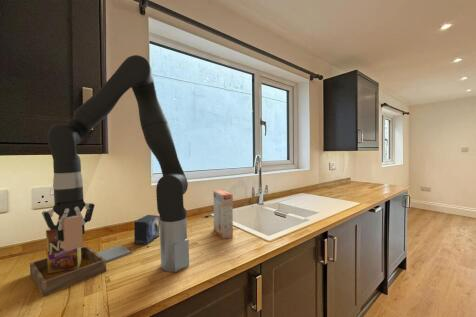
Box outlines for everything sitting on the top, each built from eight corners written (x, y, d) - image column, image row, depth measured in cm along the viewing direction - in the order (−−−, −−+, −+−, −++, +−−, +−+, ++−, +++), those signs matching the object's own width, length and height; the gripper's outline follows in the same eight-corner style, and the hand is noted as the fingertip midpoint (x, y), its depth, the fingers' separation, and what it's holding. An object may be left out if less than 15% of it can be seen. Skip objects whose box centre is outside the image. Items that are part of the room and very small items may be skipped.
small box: (146, 245, 96) (146, 222, 96) (133, 244, 97) (133, 221, 97) (160, 236, 106) (159, 215, 106) (148, 235, 108) (147, 214, 107)
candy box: (46, 274, 74) (44, 230, 74) (52, 268, 78) (50, 226, 78) (78, 269, 77) (76, 226, 77) (82, 263, 81) (80, 223, 81)
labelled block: (83, 246, 72) (81, 215, 71) (66, 251, 68) (64, 219, 68) (76, 242, 75) (75, 212, 75) (60, 246, 72) (58, 216, 71)
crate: (106, 271, 76) (105, 259, 76) (43, 296, 63) (42, 283, 63) (87, 255, 87) (86, 245, 87) (30, 274, 74) (29, 262, 74)
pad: (131, 253, 89) (131, 251, 89) (98, 265, 80) (98, 263, 80) (120, 246, 95) (120, 244, 95) (88, 257, 86) (88, 255, 86)
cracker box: (233, 237, 104) (233, 193, 103) (221, 239, 101) (220, 195, 101) (224, 228, 117) (223, 189, 116) (213, 229, 114) (212, 190, 114)
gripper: (42, 191, 63) (45, 249, 64) (97, 184, 74) (100, 233, 75) (36, 188, 68) (39, 243, 68) (89, 182, 79) (91, 229, 80)
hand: (71, 237), depth 72 cm, fingers closed on labelled block, 4 cm apart
